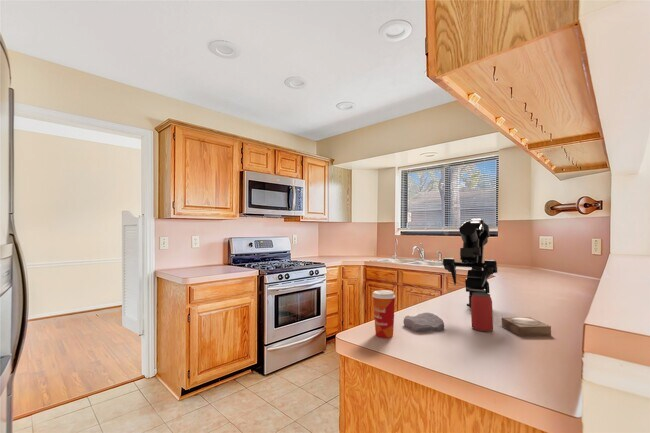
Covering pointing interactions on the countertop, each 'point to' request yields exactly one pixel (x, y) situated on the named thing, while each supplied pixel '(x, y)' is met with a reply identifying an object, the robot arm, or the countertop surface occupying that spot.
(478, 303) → the beer can
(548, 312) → the countertop surface
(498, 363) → the countertop surface
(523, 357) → the countertop surface
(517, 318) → the walnut pedestal
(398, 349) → the countertop surface
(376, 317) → the paper cup
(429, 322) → the stone block
